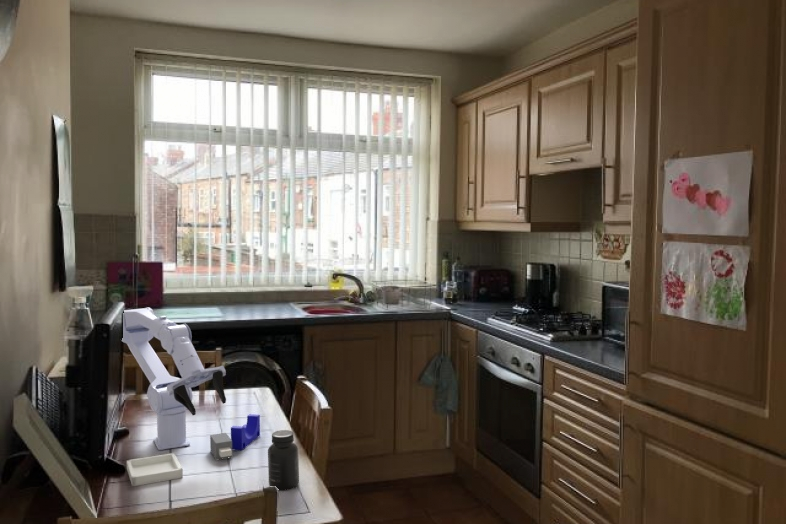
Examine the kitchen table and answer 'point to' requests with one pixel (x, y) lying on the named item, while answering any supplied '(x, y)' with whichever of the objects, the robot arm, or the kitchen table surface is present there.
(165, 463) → the tray
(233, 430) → the blue u-shaped cradle block
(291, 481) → the supplement bottle
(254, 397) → the kitchen table surface
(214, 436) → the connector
